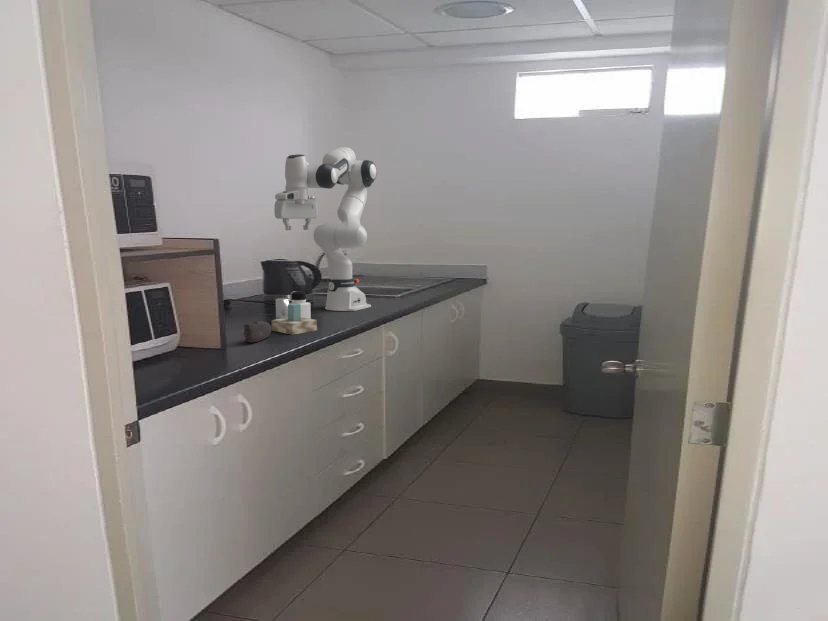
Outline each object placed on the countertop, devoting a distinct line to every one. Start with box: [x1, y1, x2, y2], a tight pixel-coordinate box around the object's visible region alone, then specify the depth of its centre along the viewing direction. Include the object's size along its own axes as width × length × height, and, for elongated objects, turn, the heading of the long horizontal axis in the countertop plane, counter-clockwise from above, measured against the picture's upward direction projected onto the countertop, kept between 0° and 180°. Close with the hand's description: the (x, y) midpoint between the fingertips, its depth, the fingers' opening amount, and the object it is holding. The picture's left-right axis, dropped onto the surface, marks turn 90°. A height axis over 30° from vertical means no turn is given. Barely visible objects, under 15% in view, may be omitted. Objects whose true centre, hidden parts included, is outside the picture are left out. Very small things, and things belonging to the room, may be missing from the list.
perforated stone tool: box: [243, 320, 272, 344], centre depth 222 cm, size 15×5×7 cm, turn 158°
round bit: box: [275, 297, 290, 320], centre depth 253 cm, size 5×5×10 cm
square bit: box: [288, 304, 301, 322], centre depth 240 cm, size 3×3×10 cm
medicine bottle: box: [289, 290, 312, 319], centre depth 262 cm, size 7×7×12 cm
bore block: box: [271, 317, 318, 336], centre depth 240 cm, size 12×12×4 cm
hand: (297, 230), depth 257 cm, fingers open, 8 cm apart
